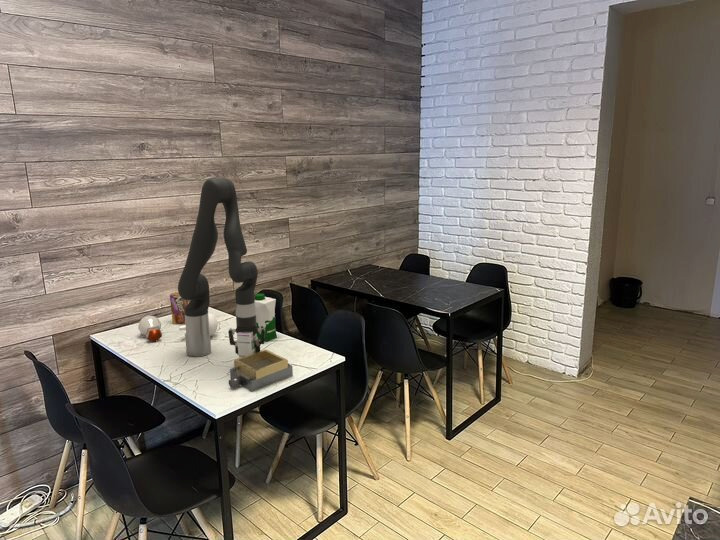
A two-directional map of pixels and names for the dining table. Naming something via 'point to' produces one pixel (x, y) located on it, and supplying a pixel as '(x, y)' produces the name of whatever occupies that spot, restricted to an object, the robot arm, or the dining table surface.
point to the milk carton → (265, 316)
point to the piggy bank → (212, 324)
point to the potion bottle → (150, 328)
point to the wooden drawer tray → (259, 370)
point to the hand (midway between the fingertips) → (248, 354)
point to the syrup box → (245, 344)
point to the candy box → (178, 308)
